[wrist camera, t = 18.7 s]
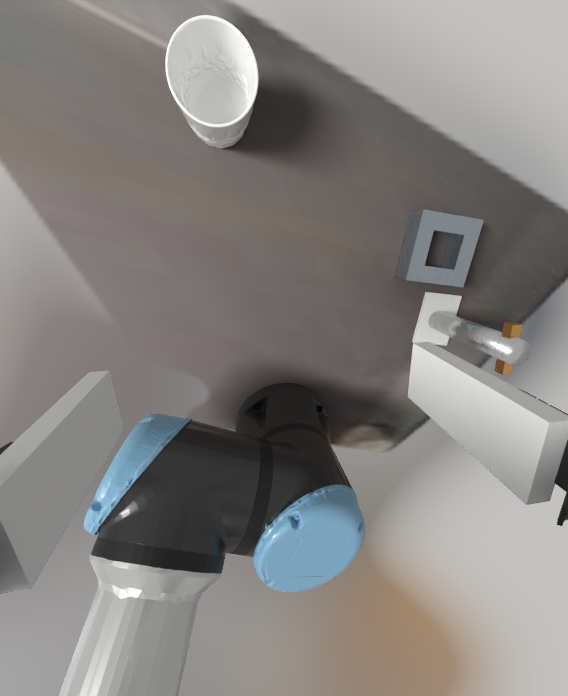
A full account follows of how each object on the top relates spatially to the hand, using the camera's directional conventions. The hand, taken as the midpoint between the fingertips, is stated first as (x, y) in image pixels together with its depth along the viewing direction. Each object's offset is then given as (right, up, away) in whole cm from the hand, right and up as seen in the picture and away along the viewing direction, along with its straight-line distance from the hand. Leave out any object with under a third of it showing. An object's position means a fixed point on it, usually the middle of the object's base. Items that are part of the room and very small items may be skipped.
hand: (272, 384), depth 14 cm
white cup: (-7, +29, +23) cm, 37 cm away
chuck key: (+24, +6, +35) cm, 43 cm away
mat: (+24, +6, +36) cm, 44 cm away
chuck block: (+22, +16, +32) cm, 42 cm away
